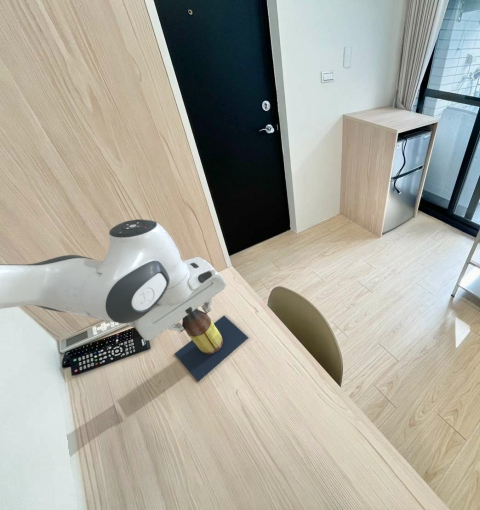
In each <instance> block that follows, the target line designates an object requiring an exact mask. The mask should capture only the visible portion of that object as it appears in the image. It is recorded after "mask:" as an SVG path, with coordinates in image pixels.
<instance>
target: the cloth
mask: <svg viewBox="0 0 480 510" xmlns="http://www.w3.org/2000/svg"><path fill="white" fill-rule="evenodd" d="M213 323H214V325H215V327H216V328H217V330H218V331H219V333H220V334H221V336H222V339H223V344H222V346H221V348H220V349H219V350H218V351H217V352H214V353H212V354H206V353H204V352H202V351H201V350H200V349H199V348H198V347H197V345H196V344H195V343H194V341H193V340H192V339H191V340H190V341H189V342H187V343H186V344H185V345H184V346H182V347H181V348H180V349H178V350H177V351H176V352H175V353H174V355H175V356H176V358H177V359H178V360H179V362H181V363H182V365H183V366H184V367H185V368H186V370H187V371H188V372H189V373H190V374H191V375H192V376H193V378H194V379H195V380H196V381H197V382H198V383H199V382H200V381H201V380H202V379H203V378H204V377H206V376H207V375H208V374H209V373H210V372H211V371H212V370H214V369H215V368H216V367H217V366H219V364H221V363H222V361H225V359H226V358H227V357H229V356H230V355H231V354H232V353H233V352H234V351H236V350H237V348H239V347H240V346H241V345H242V344H244V342H246V341H247V340H248V339H249V336H248V335H246V334H245V333H244V332H243V331H242V330H241V329H240V328H239V327H237V326H236V324H235V323H233V322H232V321H231V320H230V319H229V318H228V317H227V316H225V315H223V316H221V317H220V318H219V319H217V320H216V321H215V322H213Z"/></svg>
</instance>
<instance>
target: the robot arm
mask: <svg viewBox="0 0 480 510" xmlns="http://www.w3.org/2000/svg"><path fill="white" fill-rule="evenodd" d="M108 238H109V244H108V245H109V246H108V250H107V253H106V255H105V256H104V257H105V258H104V260H99V259H95V258H91V257H87V256H83V255H80V254H79V255H78V254H66V255H61V256H57V257H53V258H50V259H49V258H48V259H46V260H43V261H39V262H34V263H25V264H17V263H16V264H14V263H13V264H12V263H11V264H9V263H8V264H7V263H6V264H5V263H3V264H2V263H0V310H2V309H11V308H17V307H18V308H19V307H25V306H33V307H34V306H35V307H38V308H41V309H43V310H47V311H51V312H60V313H67V314H73V315H78V316H82V317H88V318H92V319H96V320H101V321H105V322H106V321H107V322H111V323H118V324H126V325H127V326H128V327H129V328H134V329H135V330H136V331H137V332H138V334H139V335H140V336H141V338H142V339H143V340H144V341H153V340H154V339H156V338H157V337H158V336H160V335H162V334H163V333H164V332H166V331H167V330H169V331H176V332H177V333H178V334H181V333H183V332H184V331H185V328H184V327H183V326H182V323H181V322H180V321H181V320H183V319H182V318H184V317H185V316H187V315H188V314H187V313H186V311H185V310H186V309H188V308H189V307H191V308H192V311H194V310H195V309H197V308H198V309H199V308H200V307H201V309H202V310H203V312H205V313H207V314H208V313H210V312H211V311H212V310H213V309H212V307H211V305H212V301H213V299H212V298H214V297H215V296H217V295H218V294H220V293H221V292H223V291H224V290H225V289H226V287H227V281H226V280H225V279H224V277H223V275H222V274H221V273H219V272H218V271H217V270H216V269H215V267H214V266H213V265H212V264H211V263H209V262H208V261H207V260H206V259H204V258H203V257H200V256H196V257H193V258H189V259H185V260H183V259H182V258H181V252H180V250H179V248H178V246H177V245H176V243H175V241H174V239H173V238H172V237H171V235H170V234H169V233H168V231H167V230H166V229H165V228H164V226H162V224H160V223H159V222H157V221H154V220H149V219H143V218H141V219H139V218H138V219H137V218H136V219H131V220H126V221H123V222H120V223H117V224H116V225H115V226H113V227H112V228H111V229H110V230H109V232H108Z"/></svg>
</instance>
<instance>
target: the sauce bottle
mask: <svg viewBox="0 0 480 510" xmlns="http://www.w3.org/2000/svg"><path fill="white" fill-rule="evenodd" d="M185 311H186V313H187V314H188V315H187V316H185V317H184V318H182V319H181V320H182V322H181V325H182V326H183V327H184V328H185V330H184V332H185V333H186V334H187V336H189V338H190V339H191V340H193V341H194V343H195V344H196V345H197V347H198V348H199V349H200V350H201V351H202V352H204V353H206V354H212V353H214V352H217V351H218V350H219V349H220V348H221V346H222V344H223V339H222V336H221V334H220V333H219V331H218V330H217V328H216V327H215V325H214V323H215V322H214V321H213V320H212V318H211V317H210V316H209V314H208V313H206V312H205V311H202V310H200V309H199V307H198V308H197V309H195V310H194V311H192V308H191V307H189V308H188V309H186V310H185Z"/></svg>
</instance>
